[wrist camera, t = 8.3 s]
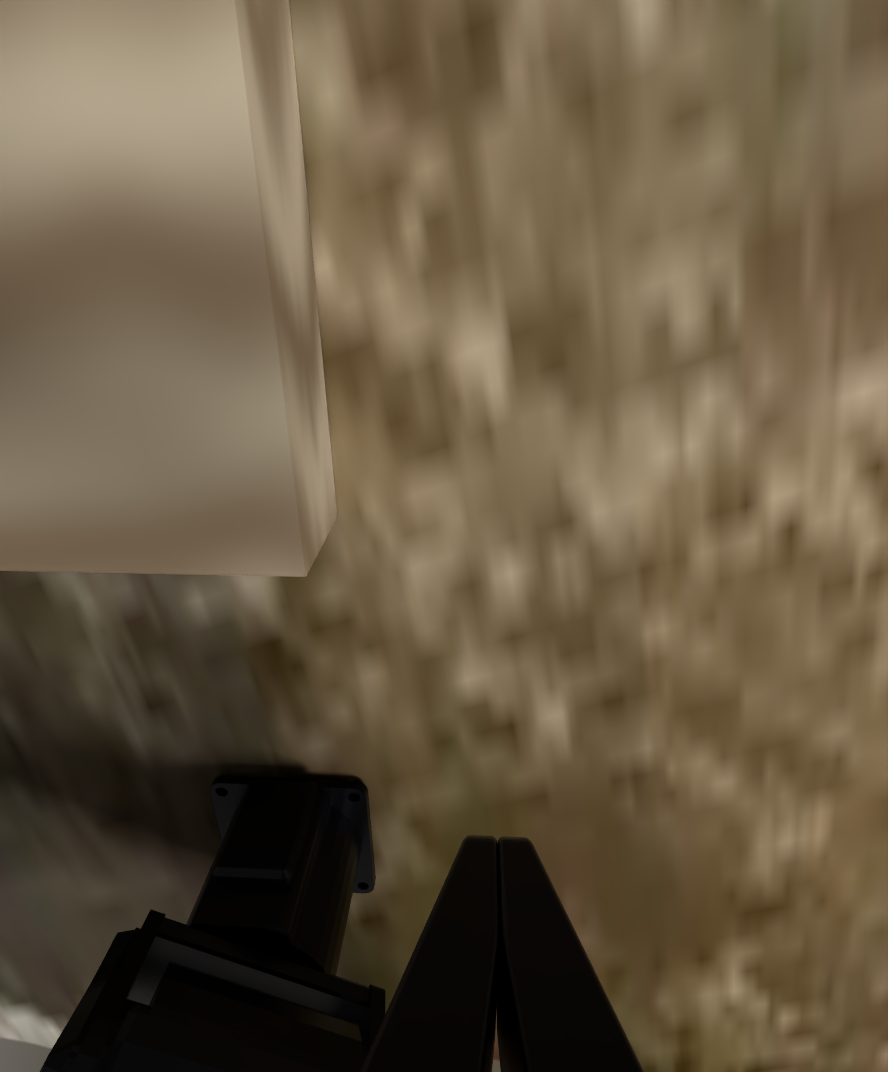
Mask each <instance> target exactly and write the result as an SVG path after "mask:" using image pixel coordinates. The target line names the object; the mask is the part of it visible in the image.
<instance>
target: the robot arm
mask: <svg viewBox="0 0 888 1072" xmlns="http://www.w3.org/2000/svg"><path fill="white" fill-rule="evenodd" d="M354 793H356V794H354ZM210 794H211V798H212V802H213V806H214V810H215V814H216V819H217V823H218V827H219V831H220V835H221V839H222V843H221V845H220V847H219V850H218V852H217V854H216V857H215V859H214V861H213V864H212V866H211V868H210V871H209V873H208V875H207V878H206V880H205V882H204V884H203V887H202V889H201V891H200V894H199V896H198V898H197V901H196V903H195V905H194V908H193V910H192V912H191V915H190V917H189V919H188V921H187V924H186V925H185V924H182V923H180V922H177V921H174V920H171V919H168V918H165V915H166V914H163V913H160V912H157V911H154V910H150V912H149V914H148V916H147V918H146V920H145V922H144V924H143V926H142V928H141V929H139V928H136V929H135V930H130V931H124V932H118V933H117V935H116V937H115V939H114V940H113V942H112V944H111V946H110V948H109V950H108V952H107V954H106V956H105V958H104V960H103V961H102V963H101V965H100V967H99V969H98V971H97V973H96V975H95V976H94V978H93V980H92V982H91V984H90V986H89V987H88V989H87V991H86V993H85V994H84V996H83V998H82V999H81V1001H80V1003H79V1004H78V1006H77V1008H76V1009H75V1011H74V1013H73V1015H72V1016H71V1018H70V1020H69V1021H68V1023H67V1025H66V1026H65V1028H64V1030H63V1031H62V1033H61V1035H60V1037H59V1038H58V1040H57V1042H56V1043H55V1045H54V1047H53V1048H52V1050H51V1052H50V1053H49V1055H48V1057H47V1059H46V1061H45V1063H44V1065H43V1067H42V1069H41V1071H40V1072H492V1065H493V1055H494V1042H495V1028H496V1011H497V1035H498V1047H499V1058H500V1068H501V1072H644V1071H643V1069H642V1067H641V1065H640V1063H639V1061H638V1058H637V1056H636V1054H635V1052H634V1050H633V1048H632V1046H631V1044H630V1042H629V1040H628V1038H627V1036H626V1034H625V1032H624V1030H623V1028H622V1026H621V1024H620V1022H619V1020H618V1018H617V1016H616V1013H615V1011H614V1009H613V1007H612V1005H611V1003H610V1001H609V999H608V997H607V995H606V993H605V991H604V989H603V987H602V985H601V983H600V981H599V979H598V977H597V975H596V973H595V970H594V968H593V966H592V964H591V962H590V960H589V958H588V956H587V954H586V952H585V950H584V948H583V946H582V944H581V942H580V940H579V938H578V936H577V934H576V932H575V930H574V928H573V925H572V923H571V921H570V919H569V917H568V915H567V913H566V911H565V909H564V907H563V905H562V903H561V901H560V899H559V897H558V895H557V893H556V891H555V889H554V887H553V885H552V882H551V880H550V878H549V876H548V874H547V872H546V870H545V868H544V866H543V864H542V862H541V860H540V858H539V856H538V854H537V852H536V850H535V848H534V846H533V844H532V842H531V841H530V840H529V839H528V838H525V837H505V836H503V837H501V838H499V840H498V844H497V840H496V838H494V837H493V836H482V835H468V836H467V837H466V838H465V839H464V840H463V842H462V844H461V847H460V849H459V851H458V853H457V855H456V858H455V860H454V862H453V864H452V867H451V869H450V871H449V873H448V876H447V878H446V880H445V882H444V885H443V887H442V889H441V891H440V894H439V896H438V898H437V900H436V903H435V905H434V907H433V909H432V911H431V914H430V916H429V918H428V920H427V923H426V925H425V927H424V929H423V932H422V934H421V936H420V938H419V941H418V943H417V945H416V947H415V950H414V952H413V954H412V956H411V958H410V961H409V963H408V965H407V967H406V970H405V972H404V974H403V976H402V979H401V981H400V983H399V985H398V988H397V990H396V992H395V994H394V997H393V999H392V1001H391V1003H390V1005H389V1008H388V1010H387V1012H386V1014H385V989H382V988H379V987H377V986H374V985H370V986H369V987H367V986H364V985H361V984H358V983H355V982H352V981H350V980H347V979H344V978H341V977H338V976H336V973H337V968H338V963H339V958H340V953H341V948H342V943H343V938H344V933H345V928H346V923H347V918H348V913H349V908H350V903H351V898H352V893H369V892H371V891H372V890H373V889H374V885H375V879H376V876H375V865H374V854H373V843H372V831H371V820H370V809H369V798H368V789H367V787H366V786H365V785H364V784H363V783H361V782H359V781H349V780H323V779H298V778H273V777H247V776H218V777H216V778H215V780H214V781H213V783H212V785H211V787H210Z"/></svg>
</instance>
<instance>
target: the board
mask: <svg viewBox="0 0 888 1072" xmlns="http://www.w3.org/2000/svg"><path fill="white" fill-rule="evenodd" d="M336 518H337V508H336V497H335V487H334V476H333V466H332V455H331V444H330V434H329V423H328V412H327V402H326V391H325V381H324V370H323V359H322V349H321V338H320V327H319V317H318V306H317V296H316V285H315V274H314V264H313V253H312V242H311V232H310V221H309V211H308V200H307V189H306V179H305V168H304V157H303V147H302V136H301V126H300V115H299V104H298V94H297V83H296V72H295V62H294V51H293V40H292V30H291V19H290V9H289V0H0V571H47V572H97V573H147V574H196V575H246V576H296V577H306V576H307V574H308V572H309V570H310V568H311V566H312V564H313V562H314V560H315V558H316V556H317V555H318V553H319V551H320V549H321V547H322V545H323V543H324V541H325V539H326V537H327V535H328V533H329V531H330V530H331V528H332V526H333V524H334V522H335V520H336Z"/></svg>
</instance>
